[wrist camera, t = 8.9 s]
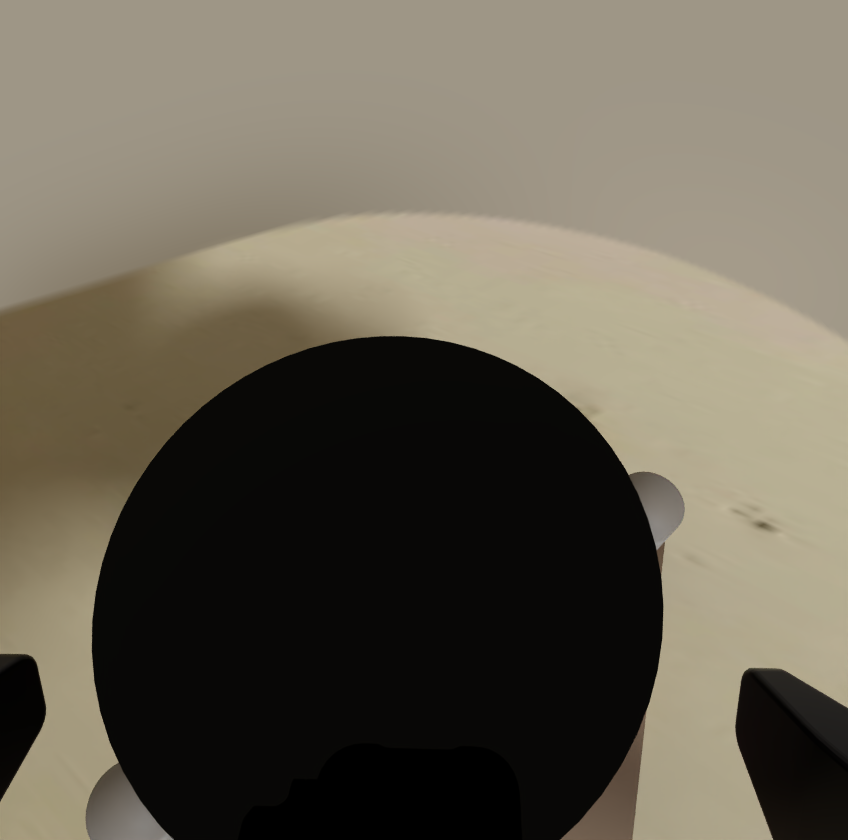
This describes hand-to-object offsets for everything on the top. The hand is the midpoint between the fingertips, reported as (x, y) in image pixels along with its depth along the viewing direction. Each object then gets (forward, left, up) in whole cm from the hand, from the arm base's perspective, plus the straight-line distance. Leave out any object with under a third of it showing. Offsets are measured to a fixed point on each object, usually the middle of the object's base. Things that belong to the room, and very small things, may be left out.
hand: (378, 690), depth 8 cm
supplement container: (+1, 0, -9) cm, 9 cm away
